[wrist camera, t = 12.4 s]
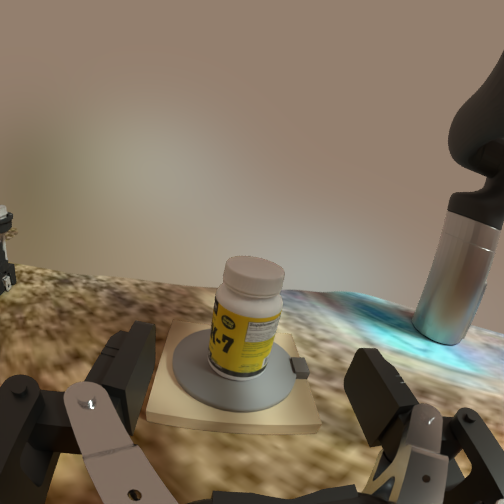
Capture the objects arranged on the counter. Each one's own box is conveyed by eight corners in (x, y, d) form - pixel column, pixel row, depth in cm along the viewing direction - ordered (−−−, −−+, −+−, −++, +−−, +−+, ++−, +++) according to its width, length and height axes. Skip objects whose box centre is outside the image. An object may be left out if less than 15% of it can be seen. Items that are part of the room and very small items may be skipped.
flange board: (288, 343, 29) (293, 327, 28) (316, 433, 17) (325, 417, 17) (172, 329, 27) (173, 312, 27) (146, 421, 16) (144, 403, 15)
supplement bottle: (198, 348, 22) (210, 253, 20) (249, 341, 25) (267, 253, 22) (221, 388, 18) (239, 282, 16) (277, 375, 21) (304, 278, 18)
